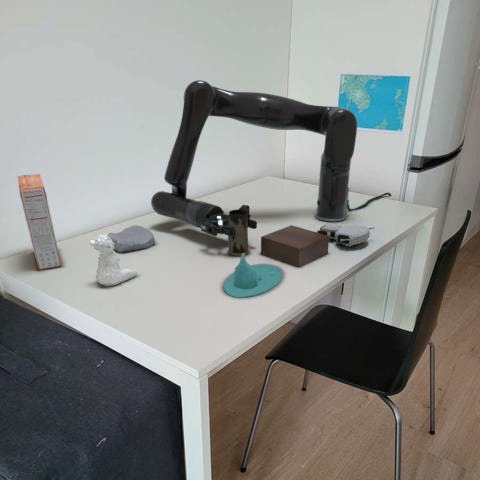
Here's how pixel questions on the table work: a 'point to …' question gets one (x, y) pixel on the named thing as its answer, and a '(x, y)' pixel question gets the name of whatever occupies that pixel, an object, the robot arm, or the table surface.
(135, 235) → the stone block
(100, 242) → the sitting furry creature
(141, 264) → the table surface
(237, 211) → the mug
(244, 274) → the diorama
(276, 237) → the walnut block
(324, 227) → the robot toy
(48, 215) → the cracker box
